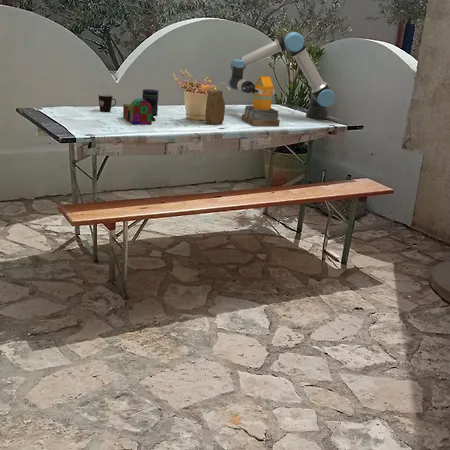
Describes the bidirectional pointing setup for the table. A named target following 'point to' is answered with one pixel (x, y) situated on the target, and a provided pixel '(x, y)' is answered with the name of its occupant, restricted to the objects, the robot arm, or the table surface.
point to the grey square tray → (260, 117)
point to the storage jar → (151, 99)
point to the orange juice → (263, 93)
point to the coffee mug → (105, 102)
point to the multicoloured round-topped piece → (138, 112)
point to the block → (215, 107)
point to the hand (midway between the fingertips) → (268, 92)
